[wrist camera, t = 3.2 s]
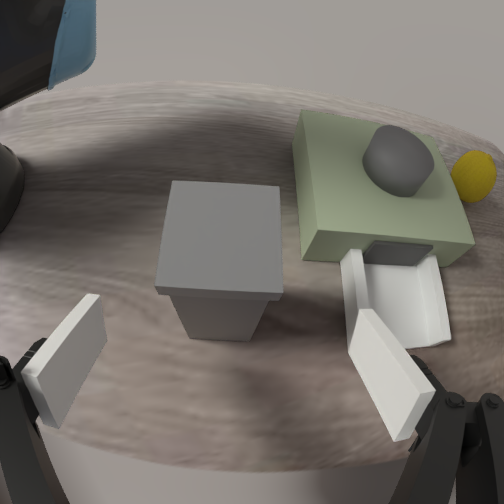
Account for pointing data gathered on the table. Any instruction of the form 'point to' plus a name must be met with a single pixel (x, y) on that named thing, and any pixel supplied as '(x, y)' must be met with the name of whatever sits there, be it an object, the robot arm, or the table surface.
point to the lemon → (474, 176)
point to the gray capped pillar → (221, 256)
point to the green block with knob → (380, 220)
